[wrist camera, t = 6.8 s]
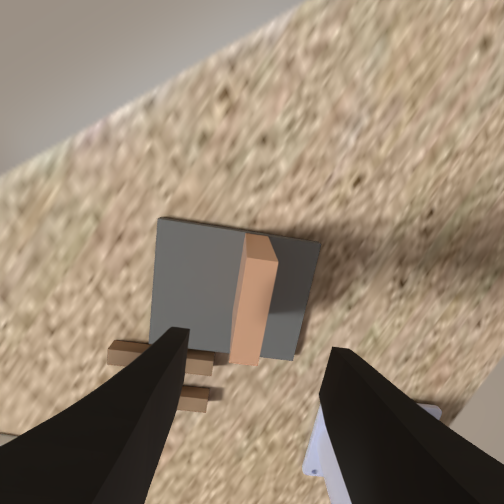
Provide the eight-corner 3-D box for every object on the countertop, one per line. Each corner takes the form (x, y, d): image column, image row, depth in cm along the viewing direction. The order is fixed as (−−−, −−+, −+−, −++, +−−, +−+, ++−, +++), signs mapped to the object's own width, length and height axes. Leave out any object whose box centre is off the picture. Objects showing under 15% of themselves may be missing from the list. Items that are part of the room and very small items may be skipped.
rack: (214, 352, 20) (213, 361, 19) (207, 401, 21) (205, 412, 20) (114, 340, 19) (107, 349, 18) (112, 391, 20) (106, 402, 19)
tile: (253, 314, 18) (257, 365, 13) (232, 312, 18) (229, 362, 13) (268, 236, 17) (278, 262, 12) (245, 232, 17) (246, 257, 12)
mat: (318, 241, 17) (321, 244, 17) (291, 355, 20) (292, 361, 19) (160, 217, 17) (157, 218, 16) (151, 338, 19) (148, 343, 18)
